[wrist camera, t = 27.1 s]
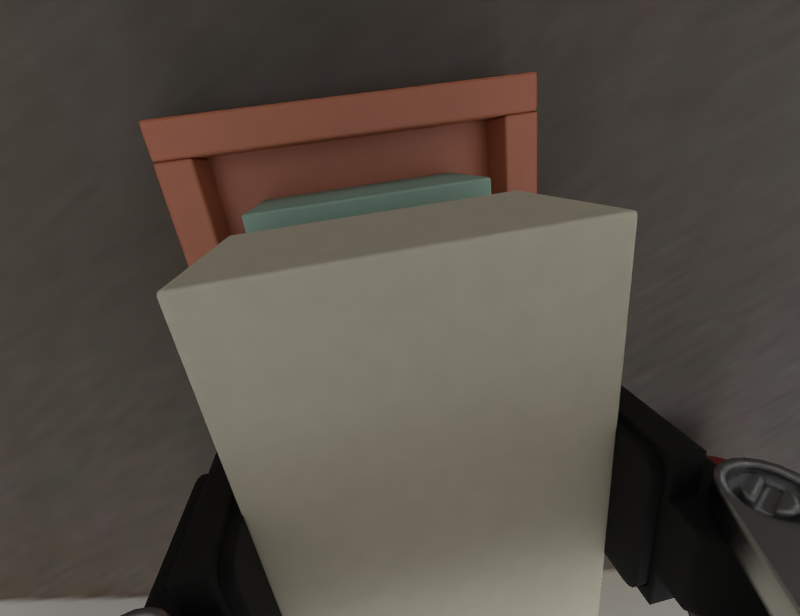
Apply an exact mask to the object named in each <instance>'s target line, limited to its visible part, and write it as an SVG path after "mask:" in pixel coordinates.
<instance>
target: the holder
mask: <svg viewBox="0 0 800 616" xmlns="http://www.w3.org/2000/svg"><path fill="white" fill-rule="evenodd" d="M536 109H537V73H536V72H526V73H518V74H510V75H502V76H494V77H485V78H477V79H469V80H461V81H453V82H445V83H437V84H429V85H421V86H413V87H404V88H396V89H388V90H380V91H372V92H364V93H356V94H348V95H340V96H331V97H323V98H315V99H307V100H299V101H291V102H283V103H275V104H267V105H259V106H250V107H242V108H234V109H226V110H218V111H210V112H202V113H194V114H186V115H177V116H169V117H161V118H153V119H145V120H141V121H139V125H140V128H141V131H142V134H143V137H144V140H145V143H146V146H147V148H148V151H149V154H150V157H151V160H152V161H153V162H156V163H155V164H154V169H155V172H156V175H157V178H158V181H159V183H160V186H161V189H162V192H163V195H164V198H165V201H166V204H167V206H168V209H169V212H170V215H171V218H172V221H173V224H174V227H175V230H176V232H177V235H178V238H179V241H180V244H181V247H182V250H183V253H184V255H185V258H186V261H187V264H188V267H190V266H191V265H192V264H194V263H195V262H196V261H198V260H199V259H200V258H201V257H203V256H204V255H205V254H207V253H208V252H209V251H210V250H212V249H213V248H214V247H216V246H217V245H218V244H219V243H221V242H222V241H223V240H225V239H226V238H227V237H229V236H231V235H238V234H244V233H246V231H245V227H244V224H243V220H242V215H243V214H245V213H246V212H248V211H249V210H251V209H252V208H254V207H255V206H257V205H258V204H260V203H261V202H263V201H264V200H267V199H273V198H280V197H287V196H294V195H300V194H307V193H314V192H320V191H327V190H334V189H341V188H347V187H354V186H361V185H368V184H374V183H381V182H388V181H394V180H401V179H408V178H415V177H421V176H428V175H435V174H442V173H448V172H450V173H458V174H466V175H475V176H483V177H489V178H490V179H491V194H497V193H503V192H510V191H516V190H518V191H524V192H530V193H536V194H537V112H535V110H536Z"/></svg>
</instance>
